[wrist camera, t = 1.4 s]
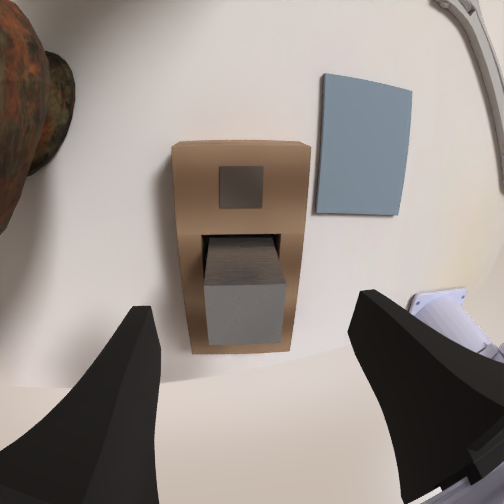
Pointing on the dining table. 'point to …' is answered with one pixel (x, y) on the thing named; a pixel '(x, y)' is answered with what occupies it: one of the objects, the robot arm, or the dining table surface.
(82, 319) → the dining table surface
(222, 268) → the steel peg
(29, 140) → the pitcher
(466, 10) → the adjustable wrench
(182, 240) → the brown flat rectangular block
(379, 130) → the slate mat
